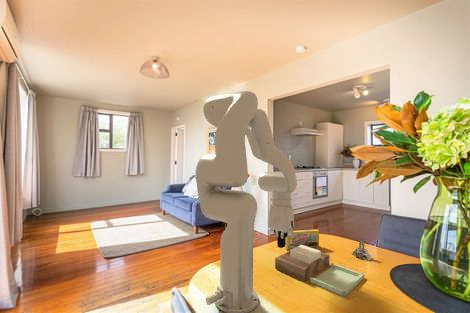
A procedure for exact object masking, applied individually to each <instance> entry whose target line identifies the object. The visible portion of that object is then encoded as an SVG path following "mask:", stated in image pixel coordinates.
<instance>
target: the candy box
mask: <svg viewBox="0 0 470 313" xmlns="http://www.w3.org/2000/svg"><path fill="white" fill-rule="evenodd" d="M300 245H304V246H307V247H310V248H313V249H314V248H319V247H320V230H319V229H318V228H317V229H316V228H315V229H302V230H301V229H300V230H293V235H291V236H287V237H286V245H285V247H284V249H285V250H286V251H290V250H291V249H293V248H296V247H298V246H300Z"/></svg>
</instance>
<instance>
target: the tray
mask: <svg viewBox="0 0 470 313" xmlns="http://www.w3.org/2000/svg"><path fill="white" fill-rule="evenodd" d="M330 265H331V266H330V267H329V268H328V269H326V270H325V271H323V272H321V273H320V274H318V275H317V276H316V277H314V276H312V277H310V278H309V283H310V284H312V285H315V286H317V287H319V288H321V289H324V290H326V291H328V292H330V293H333V294H335V295H337V296H338V297H339V296H340V297H342V298H346V296H347V295H349V294H350V293H351V292H352V291H353V289H355V288H356V286H358V285H359V283H360V282H362V281H363V279H365V274H364V273H361V272H359V271H356V270H352V269H350V268H347V267H345V266H341V265H339V264H335V263H330ZM351 274H352V275H351ZM361 280H362V281H361Z"/></svg>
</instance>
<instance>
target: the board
mask: <svg viewBox="0 0 470 313" xmlns="http://www.w3.org/2000/svg"><path fill="white" fill-rule="evenodd" d="M274 260H275V261H274V264H275V265H274V268H275V270H277V271H279V272H281V273H283V274H286V275H288V276H291V277H293V278H295V279H297V280H300V281H302V282H303V283H305V282H306V281H308V280H310V277H314V276H316V275H317V274H318V273H320V272H322V270H324V269H325V268H327V267H328V266H330V265H331V263H330V260H331V259H330V254H328V253H326V252H322V251H321V258H319V259H317V260H316V261H314V262H312V263H310V264H308V263H305V262H303V261H300V260H297V259H295V258H292V257H290V250H288V252H287V251H286V253H283V254H281V255H279V256H277V257H275V258H274Z"/></svg>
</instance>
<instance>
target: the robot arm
mask: <svg viewBox="0 0 470 313" xmlns="http://www.w3.org/2000/svg"><path fill="white" fill-rule="evenodd" d="M258 106H259V102H258V96H257V95H256V93H255V92H252V91H250V90H249V91H247V90H241V91H236V92H230V93H226V94H222V95H216V96H212V97H209V98H208V99H207V100H206V101H205V102H204V104H203V109H202V110H203V115H204V118H205V120H206V121H207V122H208V123H209V124H211V125H212V126H214V127H215V128H216V130H215V133H214V152H215V153H213V154H212V153H211V154H206V155H204V156H202V157H201V158H200V159H199V160H198V162H197V164H196V167H195V180H196V188H197V189H196V190H197V194H198V201H199V208H200V210H201V213H202V215H203V216H204V217H205V218H207V219H209V220H213V221H218V222H223V223H226V227H225V229H224V230H223V232H222V233H221V235H220V236H221V237H220V242H219V244H220V245H219V246H220V247H219V248H220V250H219V253H220V254H219V256H220V261H219V263H220V264H219V266H220V267H219V268H220V269H219V271H220V273H219V275H220V279H219V284H220V285H217V287H216V291H215V292H214V293H213V294H211V295H209V296H207V297H206V298H205V303H206V305H207V306H211V305H213V304H215V306H216V307H217V308H218V309H219V310H221V311H222V312H224V313H250V312H252V311H253V310H254V309H256V308H257V306H258V304H259V295H258V292H257V291H255V289H254V231H255V222H256V216H257V210H258V203H257V199H256V198H255V197H254V195H253V194H251V193H250V192H248V191H245V190H244V191H243V190H235V189H226V188H241V187H243V186H245V185H246V183H247V181H248V179H249V178H248V177H249V169H248V160H247V159H248V158H247V151H246V149H247V148H246V139H247V141H248V144H249V148H250V151H251V153H252V155H253V157H255V159H258V160H260V161H261V162H264V163H267V164H269V165H271V166H273V167H274V168H276V169H278V170H279V171H267V172H265V171H264V172H263V173H261V174H260V175H259V177H258V181H257V183H258V184H257V185H258V187H259V188H260V189H261V190H262V191H264V192H270V193H271V192H272V193H271V194H272V195H271V197H270V201H271V204H270V207H269V210H268V211H269V212H268V220H267V221H268V225H267V226H268V228H270V230H271V231H273V233H275V237H276V238H277V240H276V244H277V248H279V249H283V248H285V245H286V237H287V236H291V235H293V231H295V214H294V209H293V205H292V193H294V192H295V190H296V189H297V175H296V171H295V166H294V165H293V163H292V161H291V160H290V158H289V157H288V156H287V155H286V154H285V153H284V152H283V151H282V150H280V149H279V148H278V147H277V146H276V144H275V140H274V139H275V138H274V137H273V136H274V135H273V133H272V129H271V126H270V125H271V124H270V122H269V118H268V116H267V113H266V111H264V110H263V109H261V108H258ZM223 188H225V189H223Z"/></svg>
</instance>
